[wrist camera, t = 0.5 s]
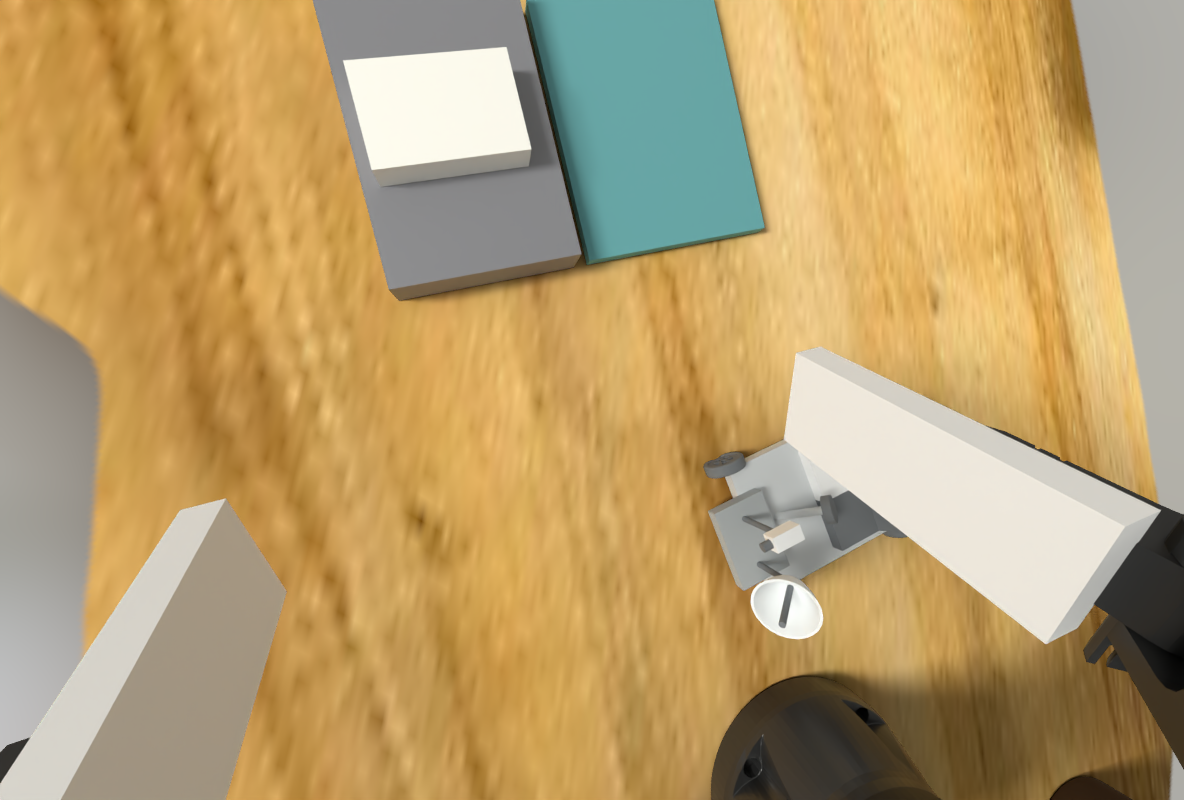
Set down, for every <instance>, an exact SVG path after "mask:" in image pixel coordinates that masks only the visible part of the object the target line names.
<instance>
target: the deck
mask: <svg viewBox="0 0 1184 800" xmlns="http://www.w3.org/2000/svg"><path fill="white" fill-rule="evenodd" d="M313 3H314V7H315V11H316V15H317V18H318V22H319V26H320V30H321V34H322V37H323V41H324V45H325V49H326V53H327V56H328V60H329V64H330V68H331V72H332V75H333V79H334V83H335V87H336V91H337V94H338V98H339V102H340V106H341V110H342V113H343V117H344V121H345V125H346V128H347V132H348V136H349V140H350V144H351V147H352V151H353V155H354V159H355V163H356V166H357V170H358V174H359V178H360V182H361V185H362V189H363V193H364V197H365V201H366V204H367V208H368V212H369V216H370V220H371V223H372V227H373V231H374V235H375V239H376V242H377V246H378V250H379V254H380V258H381V261H382V265H383V269H384V273H385V277H386V280H387V284H388V288H389V290H390V291H391V293H392V294H393V295H394V296H395V297H396V298H397V299H398V300H399V301H400V300H405V299H410V298H416V297H421V296H426V295H431V294H437V293H442V292H447V291H452V290H458V289H463V288H468V287H473V286H479V285H484V284H489V283H494V282H500V281H505V280H510V279H516V278H521V277H526V276H531V275H537V274H542V273H547V272H552V271H558V270H563V269H568V268H573V267H574V266H575V264H576V263H577V261H578V259H579V258H580V256H581V250H580V246H579V241H578V237H577V233H576V229H575V225H574V221H573V217H572V213H571V208H570V204H569V200H568V196H567V192H566V188H565V184H564V180H563V175H562V171H561V167H560V163H559V159H558V155H557V151H556V147H555V143H554V138H553V134H552V130H551V126H550V122H549V118H548V114H547V110H546V105H545V101H544V97H543V93H542V89H541V85H540V81H539V77H538V73H537V68H536V64H535V60H534V56H533V52H532V48H531V44H530V40H529V35H528V31H527V27H526V23H525V19H524V15H523V11H522V7H521V2H520V0H313ZM500 47H507V51H508V55H509V59H510V64H511V68H512V72H513V76H514V80H515V84H516V88H517V92H518V96H519V100H520V104H521V108H522V112H523V117H524V121H525V125H526V129H527V133H528V137H529V141H530V145H531V156H530V162H529V166H527V167H520V168H513V169H506V170H498V171H491V172H484V173H477V174H470V175H462V176H455V177H448V178H441V179H434V180H427V181H419V182H412V183H405V184H398V185H391V186H383V187H380V185H379V183H378V181H377V180H376V178H375V176H374V174H373V172H372V169H371V166H370V162H369V158H368V154H367V150H366V146H365V143H364V139H363V135H362V131H361V127H360V124H359V120H358V116H357V112H356V108H355V104H354V101H353V97H352V93H351V89H350V85H349V82H348V78H347V74H346V70H345V66H344V62H343V60H355V59H367V58H379V57H391V56H403V55H415V54H427V53H439V52H452V51H464V50H476V49H488V48H500Z"/></svg>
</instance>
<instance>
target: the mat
mask: <svg viewBox="0 0 1184 800" xmlns="http://www.w3.org/2000/svg"><path fill="white" fill-rule="evenodd" d="M525 12H526V16H527V20H528V24H529V28H530V33H531V37H532V41H533V45H534V49H535V53H536V57H537V61H538V66H539V70H540V74H541V78H542V82H543V86H544V90H545V94H546V99H547V103H548V107H549V111H550V115H551V119H552V123H553V127H554V132H555V136H556V140H557V144H558V148H559V152H560V156H561V160H562V165H563V169H564V173H565V177H566V181H567V185H568V189H569V193H570V198H571V202H572V206H573V210H574V214H575V218H576V222H577V226H578V231H579V235H580V239H581V243H582V247H583V251H584V255H585V259H586V264H587V265H589V264H594V263H600V262H605V261H610V260H615V259H621V258H626V257H631V256H636V255H642V254H647V253H652V252H657V251H663V250H668V249H673V248H678V247H684V246H689V245H694V244H699V243H705V242H710V241H715V240H720V239H726V238H731V237H736V236H741V235H747V234H752V233H757V232H759V231H760V230H762V229H764V228H765V226H764V222H763V218H762V213H761V209H760V204H759V200H758V195H757V191H756V186H755V182H754V177H753V173H752V168H751V164H750V159H749V155H748V150H747V146H746V141H745V137H744V133H743V128H742V124H741V119H740V115H739V110H738V106H737V101H736V97H735V92H734V88H733V83H732V79H731V74H730V70H729V65H728V61H727V57H726V52H725V48H724V43H723V39H722V34H721V30H720V25H719V21H718V16H717V12H716V7H715V3H714V0H526V9H525Z"/></svg>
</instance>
